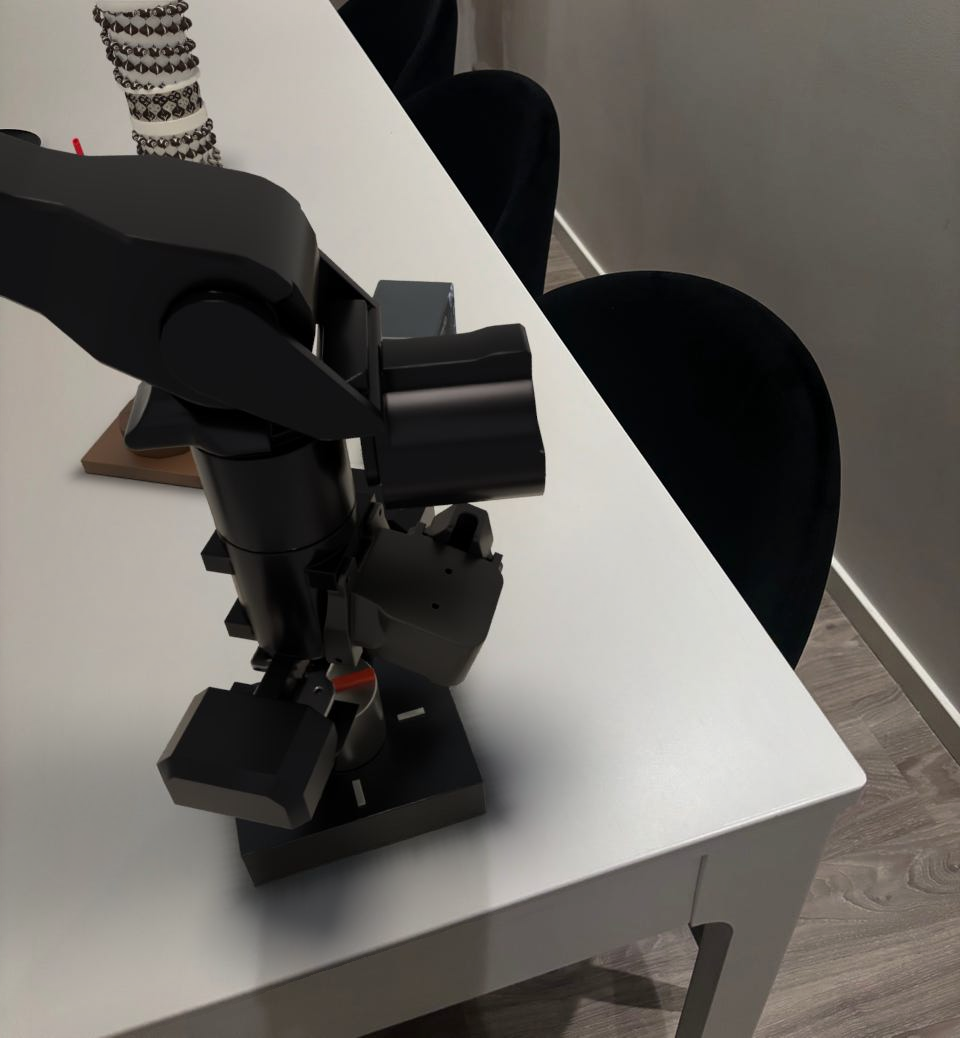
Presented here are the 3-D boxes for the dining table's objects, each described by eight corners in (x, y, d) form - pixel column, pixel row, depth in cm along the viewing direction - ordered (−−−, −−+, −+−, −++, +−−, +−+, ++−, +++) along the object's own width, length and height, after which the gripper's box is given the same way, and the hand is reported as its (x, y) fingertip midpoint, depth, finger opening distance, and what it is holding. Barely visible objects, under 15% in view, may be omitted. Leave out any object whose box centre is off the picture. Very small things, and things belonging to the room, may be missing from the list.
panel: (253, 887, 47) (239, 855, 45) (228, 725, 54) (215, 691, 52) (487, 813, 49) (484, 779, 47) (433, 667, 56) (429, 632, 54)
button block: (85, 472, 71) (71, 440, 69) (144, 401, 78) (133, 370, 76) (207, 489, 69) (197, 457, 67) (258, 414, 76) (250, 383, 74)
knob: (309, 782, 48) (293, 732, 45) (294, 713, 51) (278, 662, 48) (395, 756, 49) (385, 706, 46) (375, 690, 52) (364, 638, 49)
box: (447, 464, 70) (435, 339, 63) (371, 460, 71) (351, 336, 64) (463, 400, 76) (454, 279, 68) (393, 397, 76) (376, 277, 69)
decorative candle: (152, 214, 103) (73, -51, 86) (141, 181, 109) (66, -72, 92) (236, 197, 105) (176, -66, 88) (221, 165, 111) (162, -85, 94)
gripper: (407, 731, 30) (444, 943, 41) (529, 390, 44) (533, 618, 54) (95, 673, 33) (206, 888, 43) (300, 366, 46) (347, 589, 57)
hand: (341, 729), depth 49 cm, fingers closed on knob, 4 cm apart
